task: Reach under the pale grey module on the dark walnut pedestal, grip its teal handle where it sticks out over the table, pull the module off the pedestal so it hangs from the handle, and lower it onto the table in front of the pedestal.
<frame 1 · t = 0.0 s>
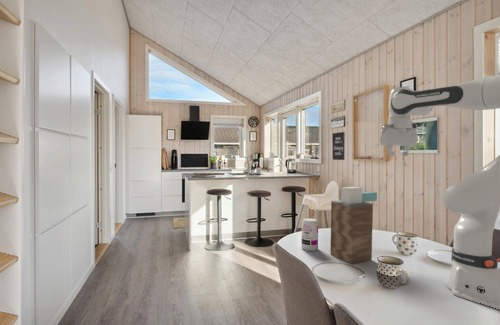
hand: (398, 155, 133), 48 cm above the table, tool pointing down, fingers open, 8 cm apart
supplement can: (309, 249, 152), on the table
module: (351, 202, 140), point 26 cm above the table, touching pedestal
pedestal: (350, 257, 141), on the table
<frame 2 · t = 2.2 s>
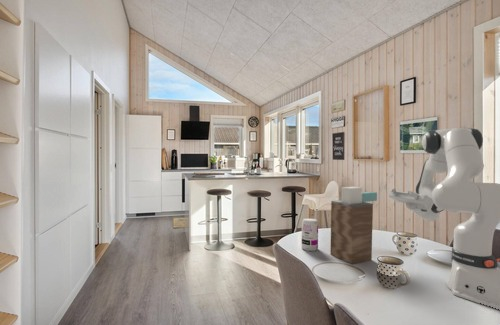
hand: (400, 191, 149), 30 cm above the table, tool pointing upward, fingers open, 8 cm apart
nothing on the table moved.
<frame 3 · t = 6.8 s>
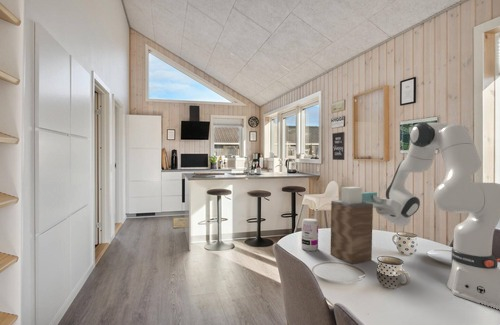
hand: (368, 195, 145), 28 cm above the table, tool pointing upward, fingers closed on module, 3 cm apart
module: (351, 202, 140), point 26 cm above the table, touching gripper, pedestal
everything else where it was.
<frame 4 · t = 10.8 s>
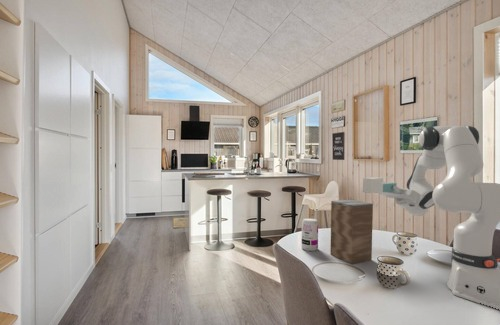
hand: (388, 186, 151), 32 cm above the table, tool pointing upward, fingers closed on module, 3 cm apart
module: (372, 192, 146), point 30 cm above the table, touching gripper
everything else where it was.
when the fingers open (19 cm above the table, at t = 15.0 s): module drops 17 cm, on the table.
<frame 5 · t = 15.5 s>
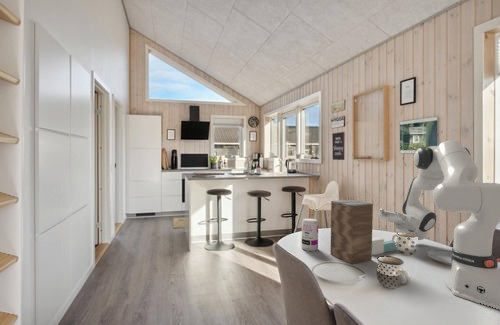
hand: (388, 211, 151), 19 cm above the table, tool pointing upward, fingers open, 8 cm apart
module: (373, 252, 147), on the table
everything else where it was.
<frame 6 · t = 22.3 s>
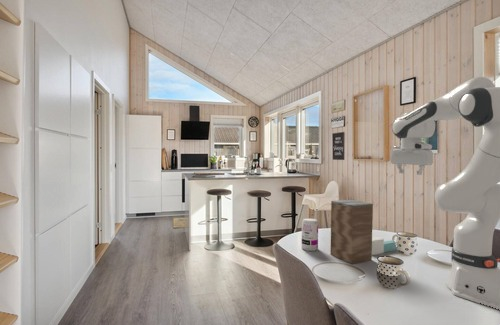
hand: (410, 173, 145), 39 cm above the table, tool pointing down, fingers open, 8 cm apart
nothing on the table moved.
at the end: module inside the target area (10.9 cm from its centre), on the table; module touching table; the gripper is holding nothing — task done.
